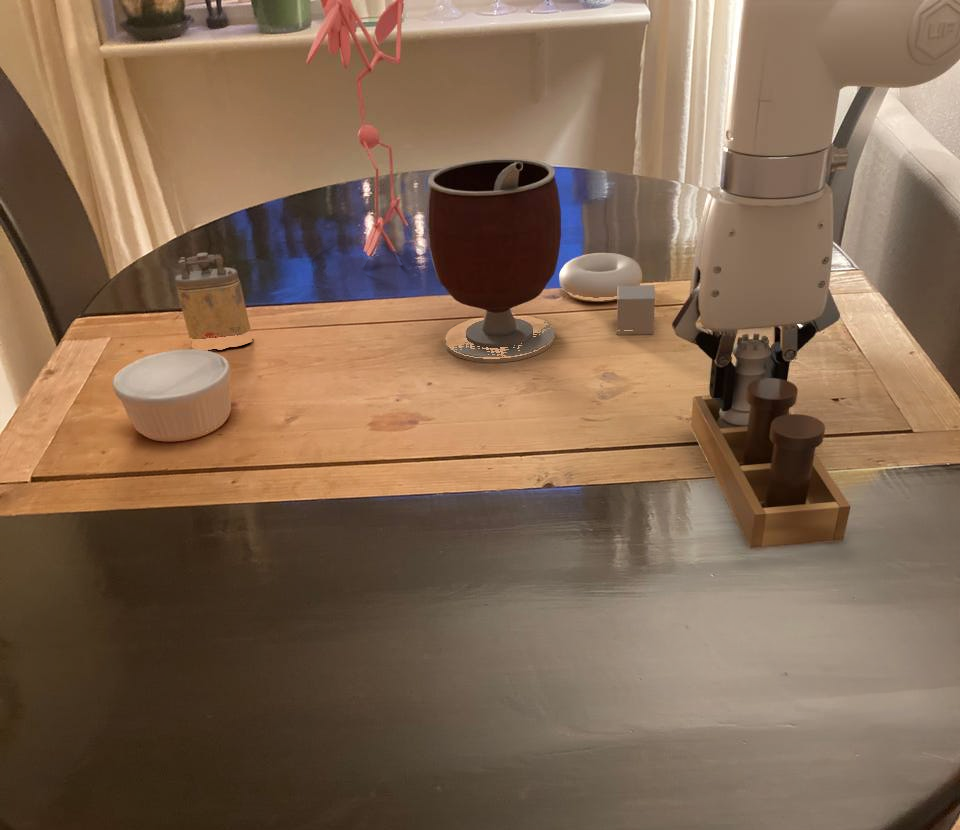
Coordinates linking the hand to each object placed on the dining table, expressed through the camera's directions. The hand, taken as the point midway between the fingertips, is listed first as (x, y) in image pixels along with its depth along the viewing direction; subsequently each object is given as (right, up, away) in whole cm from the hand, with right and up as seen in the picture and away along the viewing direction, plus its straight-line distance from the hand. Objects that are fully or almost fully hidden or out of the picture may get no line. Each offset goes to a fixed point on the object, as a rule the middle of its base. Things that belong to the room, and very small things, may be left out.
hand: (745, 400), depth 82 cm
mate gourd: (-20, +12, +24) cm, 34 cm away
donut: (-8, +22, +34) cm, 41 cm away
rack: (+1, -8, -2) cm, 8 cm away
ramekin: (-52, +1, +14) cm, 54 cm away
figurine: (-39, +33, +51) cm, 72 cm away
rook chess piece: (0, -2, +2) cm, 3 cm away
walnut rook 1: (+1, -7, -2) cm, 7 cm away
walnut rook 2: (+1, -11, -7) cm, 13 cm away
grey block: (-5, +14, +25) cm, 29 cm away
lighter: (-53, +13, +29) cm, 61 cm away
